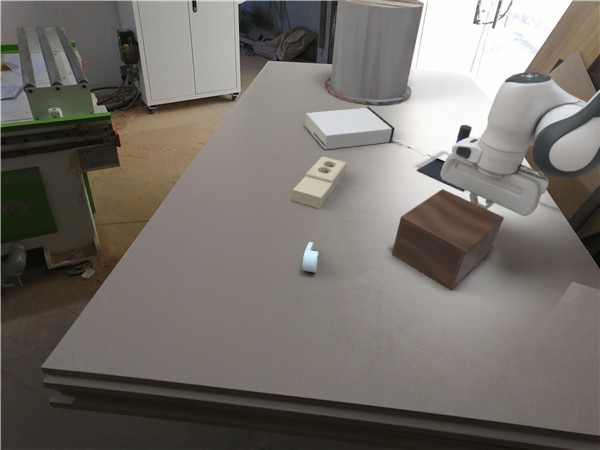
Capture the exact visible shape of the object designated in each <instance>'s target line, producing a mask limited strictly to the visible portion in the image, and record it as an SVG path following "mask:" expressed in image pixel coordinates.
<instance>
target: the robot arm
mask: <svg viewBox="0 0 600 450" xmlns="http://www.w3.org/2000/svg"><path fill="white" fill-rule="evenodd" d="M531 147H532V160H533V162H534V164H535V165H536V167H537V168H538V169H539V170H535V169H533V168H531V167H529V166H527V165H524V164H523V162H524V159H525V157H526V154H527V152H528V150H529V148H531ZM444 161H445V162H444V165H443V167H442V170H441V174H440V175H441V178H442V180H444V181H446V182H449V183H451V184H453V185H455V186H458V187H460V188H462V189H464V190H465V191H466V192H469V201H470V202H472V203H474V204H476V205H478V206H481V207H483V208H485V209H487V210H488V209H489V208H491V207H493V205H498V206H500V207H502V208H505V209H507V210H509V211H512V212H513V213H515V214H519V215H520V216H522V217H528V216H529V215H532V214H533V213H534V212H535V211H536V209H537V208H538V205H539V203H540V201H541V196H542V195H543V194H545V193H546V191H547V189H548V187H549V185H550V181H549V179H548V177H547V176H545V174H546V175H548V176H551V177H555V178H561V179H568V178H569V179H571V178H576V177H580V176H583V175H585V174H588V173H589V172H591V171H593V170H594V169H596V168H597V167H598V166H599V165H600V89H599V90H598V91H597V92H596V93H594V95H593V96H592V97H591V98H590V99H589V100H588V101H586V100H584V99H581V98H578V97H577V96H574V95H572V94H571V93H569V92H567V91H565V90H564V89H563V88H562V87H560V86H559V85H558V84H557V83H556V82H555V81H554V79H553V77H552V76H550V75H549V74H547V73H542V72H534V71H529V72H520V73H515V74H512V75H511V76H509V77H507V78H506V79H504V81H503V82H502V84H501V85H500V86H499V88H498V91H497V93H496V95H495V97H494V99H493V102H492V104H491V107H490V109H489V112H488V115H487V124H486V127H485V129H484V131H483V132H482V134H481V136H480V137H478V136H477V137H476V136H472V137H471V136H469V137H468V138H465V139H463V140H461V141H459V142H458V143H456V142H455V144H453V146H452V148H451V153H450V154H449V155H447V157H446V158H445V160H444ZM479 197H480V198H482V199H484V200H485V204H482V203H480V202H479Z"/></svg>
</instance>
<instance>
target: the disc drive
mask: <svg viewBox="0 0 600 450" xmlns="http://www.w3.org/2000/svg"><path fill="white" fill-rule="evenodd" d="M304 126H305V128H306V129H307V130H308V131H309V132H310V134H311V135H312V136H313V137H314V139H315V140H316V141H317V142H318V143H319V144H320V146H321V147H322V148H323V150H332V149H333V150H334V149H342V148H350V147H357V146H358V147H360V146H369V145H377V144H385V143H389V144H392V142H393V137H394V133H395V127H394V126H393V125H392V124H391V123H389V122H388V121H387V120H385V118H383V117H382V116H380V115H379V114H378V113H377V112H376V111H374V110H373V109H372V108H371V107H370V106H366V107H361V108H349V109H339V110H325V111H314V112H313V111H312V112H305V124H304Z"/></svg>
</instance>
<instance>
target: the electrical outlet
mask: <svg viewBox="0 0 600 450" xmlns="http://www.w3.org/2000/svg"><path fill="white" fill-rule="evenodd" d="M347 164H348V162H346V161H345V160H340V159H337V158H336V159H335V158H332V157H327V156H323V155H322V156H321V157H320V158H319V159H318V160H317V161H316V162H315V163H314V164H313V165H312V166H311V168H310V169H308V171H307V172H306V173H305V176H304V177H303V178H302V180H300V182H299V183H298V184H296V186H295V187H294V188H293V189H292V202H296V203H299V204H302V205H305V206H309V207H312V208H316V209H319V210H321V209H322V207H323V206H324V205H325V203H326V202H327V201H328V199H329V198H330V197H331V195H332V194H333V193H334V192H335V190H336V189H337V187H338V186H339V185H340V183H341V182H342V181H343V180H344V178H345V177H346V172H347V166H348V165H347Z"/></svg>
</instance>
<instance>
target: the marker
mask: <svg viewBox="0 0 600 450" xmlns="http://www.w3.org/2000/svg"><path fill="white" fill-rule="evenodd" d="M472 129H473V128H472V127H471V126H470V125H468V124H462V125H460V127H459V130H458V133H457V136H456V137H457V138H456V142H455V144H456V143H458V142H459V141H461V140H463V139H465V138H468V137H470V135H471V132H472Z"/></svg>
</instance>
